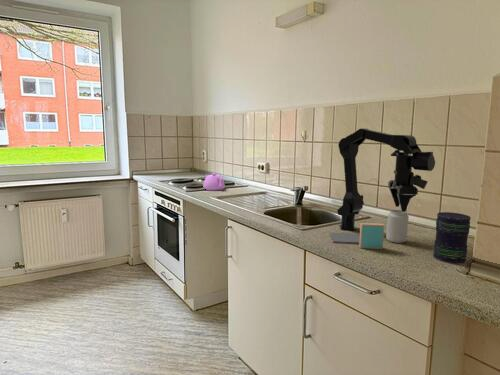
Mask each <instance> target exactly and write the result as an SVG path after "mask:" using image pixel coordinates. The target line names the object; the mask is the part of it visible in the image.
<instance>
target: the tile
mask: <svg viewBox="0 0 500 375" xmlns="http://www.w3.org/2000/svg"><path fill="white" fill-rule="evenodd" d="M359 234H360V240H359V244H358V247H359V248H360V249H368V250H369V249H371V250H372V249H373V250H383V249H384V235H385V224H384V223H375V222H373V223H372V222H371V223H370V222H367V223H365V222H360V227H359Z"/></svg>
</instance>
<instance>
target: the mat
mask: <svg viewBox="0 0 500 375" xmlns="http://www.w3.org/2000/svg"><path fill="white" fill-rule="evenodd" d="M329 235H330V238H331V241H332V242H333V244H334V243H335V244H352V245H353V244H357V245H359V240H360V233H354V232H353V233H352V232H350V233H349V232H329Z"/></svg>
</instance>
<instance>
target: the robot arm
mask: <svg viewBox="0 0 500 375" xmlns="http://www.w3.org/2000/svg"><path fill="white" fill-rule="evenodd" d="M366 140H368V141H371V142H372V141H374V142H377V143H382V144H385V145H387V146H390V147H391V148H393V149H395V150H394V151H393V152H392V153H391V154H390V156H391V157H395V169H394V170H393V174H394V179H391V180H389V181H388V182H387V187H388V190H389V192H390V194H391V197H392V199H393V202H394V206H395V207H397V208H399V206H400V210H402V212H405V211H406V210H407V208H408V206H409V203H410V201H411V199H412V198H414V197H416V196H417V195H419V189H418V187H419V188H420V189H423V190H425V188H426V186H427V184H428V181H427V180H425V179H423V178H422V176H421V175H419V174H415V173H414V172H413V171H412V170H416V171H427V172H432V171H433V170H434V169H435V166H436V160H435V156H434V152H433V151H422V150H421V148H420V147H419V145H418V143H417V139H416V137H415V136H413V135H411V134H409V135H408V134H391V133H386V132H383V131H382V132H381V131H376V130H372V129H369V128H359V129H357V130H355V132H353V133H350V134H349V135H346V137H342V138H341V139H340V140H339V141H338V149H339V150H338V152H339V153H340V155H341V157H342V159H343V166H344V167H343V169H344V184H345V194H344V196H343V199H342V205H341V206H340V207H339V208H338V209H337V210H336V211H337V216H341V217H340V219H341V220H340V224H339V225H338V227H339V228H340V230H345V231H348V230H349V231H356V230H357V228H356V227H355V223H356V222H355V220H356V219H355V218H356V215H359V214H360V211H361V210H362V209H363V207H364V205H365V202H364V196H363V194H360V193H359V190H358V178H357V175H358V174H357V160H356V158H357V156H358V153H359V146H361V145H362V144H363V143H365V141H366ZM416 186H417V187H416ZM406 212H407V211H406Z"/></svg>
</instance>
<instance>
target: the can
mask: <svg viewBox="0 0 500 375" xmlns="http://www.w3.org/2000/svg"><path fill="white" fill-rule="evenodd" d="M386 222H387V223H386V233H385V234H386V235H385V238H386V240H388V242H391V243H393V244H394V243H395V244H404V243H406V241H407V240H408V239H407V238H408V229H409V215H408V212H407V211H405V212H402V210H401V209H391V210H389V212H388V214H387V221H386Z"/></svg>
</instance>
